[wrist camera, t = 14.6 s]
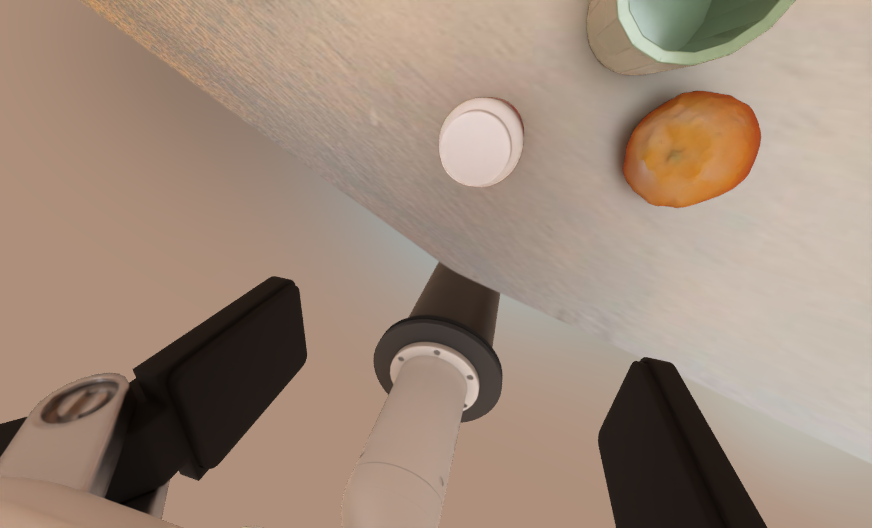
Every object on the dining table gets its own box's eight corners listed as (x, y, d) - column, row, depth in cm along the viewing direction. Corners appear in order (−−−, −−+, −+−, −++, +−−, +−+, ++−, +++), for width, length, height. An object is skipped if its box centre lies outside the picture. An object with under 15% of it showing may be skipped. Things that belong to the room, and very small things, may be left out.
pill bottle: (475, 179, 33) (453, 213, 23) (446, 120, 31) (409, 131, 21) (535, 148, 30) (538, 172, 21) (507, 82, 28) (496, 75, 19)
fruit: (733, 207, 27) (718, 228, 22) (632, 185, 32) (600, 198, 27) (790, 98, 23) (788, 93, 18) (664, 92, 28) (635, 86, 23)
